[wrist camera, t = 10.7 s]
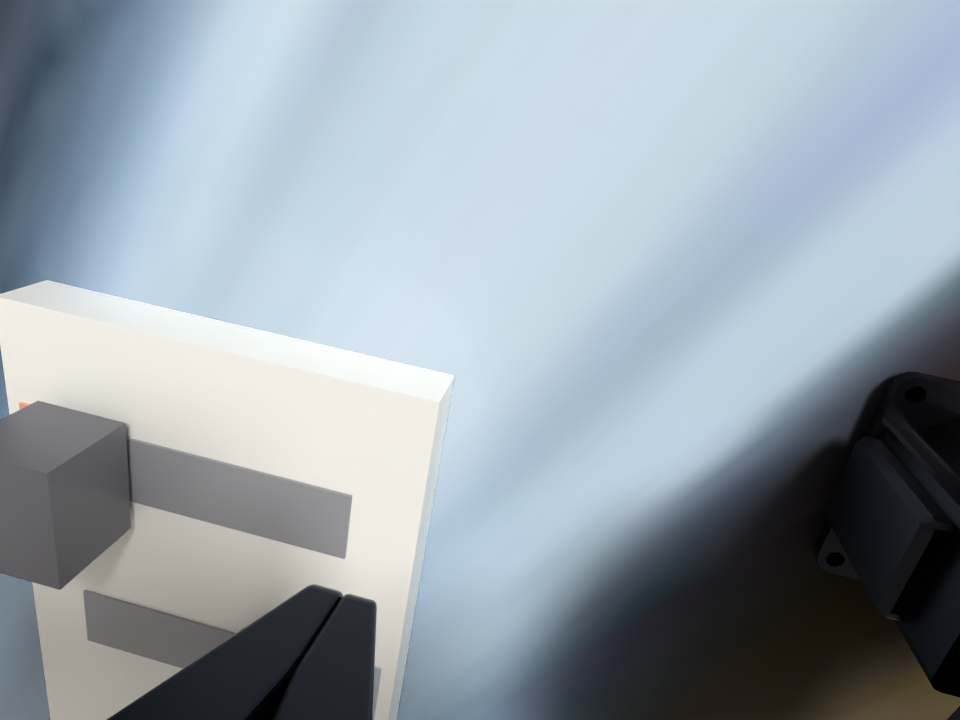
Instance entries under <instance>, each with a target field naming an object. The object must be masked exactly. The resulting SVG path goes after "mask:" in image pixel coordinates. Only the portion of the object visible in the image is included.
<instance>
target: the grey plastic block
mask: <svg viewBox="0 0 960 720" xmlns="http://www.w3.org/2000/svg"><path fill="white" fill-rule="evenodd" d="M129 529H131V515H130V496H129V477H128V459H127V440H126V423H124V422H120V421H116V420H112V419H108V418H104V417H100V416H96V415H92V414H88V413H85V412H81V411H77V410H73V409H69V408H65V407H61V406H57V405H53V404H49V403H45V402H42V401H36V402H34V403H32V404H30V405H28V406H26V407H24V408H22V409H20V410H18V411H16V412H15V413H13V414H11V415H9V416H7V417H5V418H3V419H1V420H0V573H3V574H6V575H10V576H13V577H17V578H20V579H24V580H27V581H30V582H34V583H37V584H41V585H44V586H48V587H51V588H55V589H58V590H61V589H62V588H63V587H64V586H65V585H66V584H68V583H69V582H70V581H71V580H72V579H73V578H74V577H76V576H77V575H78V574H79V573H80V572H81V571H83V570H84V569H85V568H86V567H87V566H88V565H89V564H91V563H92V562H93V561H94V560H95V559H96V558H97V557H99V556H100V555H101V554H102V553H103V552H104V551H105V550H107V549H108V548H109V547H110V546H111V545H112V544H113V543H115V542H116V541H117V540H118V539H119V538H120V537H121V536H123V535H124V534H125V533H126V532H127V531H128V530H129Z"/></svg>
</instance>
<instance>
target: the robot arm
mask: <svg viewBox="0 0 960 720" xmlns="http://www.w3.org/2000/svg"><path fill="white" fill-rule="evenodd" d="M913 386H919V391H918V393H917V394H916V395H915V396H912V397H910V398H904V397H905V392H906V391H907V390H908V389H909V388H911V387H913ZM824 514H825V516H826V518H827V520H826V522H825V524H824V526H823V529H822V531H821V533H820V535H819V537H818V539H817V542H816V544H815V546H814V550H813V554H814V557H815V559H816V561H817V563H818V565H819V567H820V568H821V569H822V570H824V571H826V572H829V573H832V574H836V575H840V576H844V577H848V578H852V579H856V580H860V581H861V582H862V584H863V585H864V587H865V589H866V591H867V593H868V595H869V596H870V598H871V600H872V602H873V604H874V605H875V607H876V609H877V610H878V612H879V614H880V615H881V616H882V617H885V618H889V619H893V620H895V622H896V624H897V625H898V627H899V629H900V631H901V632H902V634H903V636H904V638H905V639H906V641H907V643H908V645H909V646H910V648H911V650H912V652H913V653H914V655H915V657H916V659H917V660H918V662H919V664H920V666H921V667H922V669H923V671H924V672H925V674H926V676H927V678H928V679H929V681H930V683H931V685H932V686H933V688H934V689H935V690H937V691H939V692H942V693H945V694H949V695H953V696H957V697H960V381H955V380H950V379H946V378H941V377H936V376H932V375H927V374H923V373H918V372H907V373H903V374H900V375H899V376H897V377H896V378H894V379H893V381H892V382H891V383H890V385H889V387H888V389H887V391H886V393H885V395H884V397H883V400H882V402H881V404H880V406H879V408H878V410H877V413H876V415H875V417H874V419H873V421H872V423H871V425H870V428H869V430H868V432H867V434H866V436H865V437H864V438H862V439H860V440H859V441H857V442H856V443H855V445H854V448H853V450H852V452H851V454H850V456H849V458H848V461H847V463H846V465H845V467H844V469H843V471H842V474H841V476H840V478H839V480H838V482H837V484H836V487H835V489H834V491H833V493H832V495H831V498H830V500H829V502H828V504H827V506H826V508H825V511H824ZM834 552H836V553H840V554H839V555H838V556H837V557H834V558H827V556H828V555H829V554H831V553H834ZM376 617H377V604H376V602H375V601H374V600H371V599H367V598H364V597H360V596H356V595H353V594H346V595H344V596H343V594H342V593H341V592H340V591H338V590H335V589H331V588H327V587H324V586H320V585H316V584H312V585H309V586H307V587H305V588H304V589H302V590H301V591H299V592H298V593H296V594H295V595H293V596H292V597H290V598H289V599H287V600H285V601H284V602H282V603H281V604H279V605H278V606H276V607H275V608H273V609H272V610H270V611H269V612H267V613H266V614H264V615H263V616H261V617H260V618H258V619H257V620H255V621H254V622H252V623H251V624H249V625H248V626H246V627H245V628H243V629H242V630H240V631H239V632H237V633H236V634H234V635H233V636H231V637H230V638H228V639H227V640H225V641H224V642H222V643H221V644H219V645H218V646H216V647H215V648H213V649H212V650H210V651H209V652H207V653H206V654H204V655H203V656H201V657H200V658H198V659H197V660H195V661H194V662H192V663H191V664H189V665H188V666H186V667H185V668H183V669H182V670H180V671H179V672H177V673H176V674H174V675H173V676H171V677H170V678H168V679H167V680H165V681H164V682H162V683H161V684H159V685H158V686H156V687H155V688H153V689H152V690H150V691H148V692H147V693H145V694H144V695H142V696H141V697H139V698H138V699H136V700H135V701H133V702H132V703H130V704H129V705H127V706H126V707H124V708H123V709H121V710H120V711H118V712H117V713H115V714H114V715H112V716H111V717H109V718H108V719H106V720H372V716H373V692H374V667H375V642H376ZM947 720H960V706H959V707H958V708H957V710H956V711H955V712H954V713H953V714H952V715H951V716H950V717H949V718H948V719H947Z"/></svg>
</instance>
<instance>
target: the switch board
mask: <svg viewBox="0 0 960 720" xmlns="http://www.w3.org/2000/svg"><path fill="white" fill-rule="evenodd" d="M0 346H1V353H2V361H3V368H4V375H5V383H6V390H7V398H8V405H9V413H10V415H11V414H13V413H15V412H16V411H18V410H20V409H22V408H24V407H26V406H28V405H30V404H32V403H34V402H36V401H42V402H45V403H49V404H53V405H57V406H61V407H65V408H69V409H73V410H77V411H81V412H85V413H88V414H92V415H96V416H100V417H104V418H108V419H112V420H116V421H120V422H124V423H126V440H127V459H128V477H129V496H130V515H131V529H129V530H128V531H127V532H126V533H125V534H124V535H123V536H121V537H120V538H119V539H118V540H117V541H116V542H115V543H113V544H112V545H111V546H110V547H109V548H108V549H107V550H105V551H104V552H103V553H102V554H101V555H100V556H99V557H97V558H96V559H95V560H94V561H93V562H92V563H91V564H89V565H88V566H87V567H86V568H85V569H84V570H83V571H81V572H80V573H79V574H78V575H77V576H76V577H74V578H73V579H72V580H71V581H70V582H69V583H68V584H66V585H65V586H64V587H63V588H62V589H61V590H58V589H55V588H51V587H48V586H44V585H41V584H37V583H34V582H32V585H33V593H34V600H35V608H36V615H37V623H38V630H39V638H40V645H41V653H42V660H43V668H44V675H45V683H46V690H47V698H48V705H49V713H50V720H106V719H108V718H109V717H111V716H112V715H114V714H115V713H117V712H118V711H120V710H121V709H123V708H124V707H126V706H127V705H129V704H130V703H132V702H133V701H135V700H136V699H138V698H139V697H141V696H142V695H144V694H145V693H147V692H148V691H150V690H152V689H153V688H155V687H156V686H158V685H159V684H161V683H162V682H164V681H165V680H167V679H168V678H170V677H171V676H173V675H174V674H176V673H177V672H179V671H180V670H182V669H183V668H185V667H186V666H188V665H189V664H191V663H192V662H194V661H195V660H197V659H198V658H200V657H201V656H203V655H204V654H206V653H207V652H209V651H210V650H212V649H213V648H215V647H216V646H218V645H219V644H221V643H222V642H224V641H225V640H227V639H228V638H230V637H231V636H233V635H234V634H236V633H237V632H239V631H240V630H241V629H242V628H245V627H246V626H248V625H249V624H251V623H252V622H254V621H255V620H257V619H258V618H260V617H261V616H263V615H264V614H266V613H267V612H269V611H270V610H272V609H273V608H275V607H276V606H278V605H279V604H281V603H282V602H284V601H285V600H287V599H289V598H290V597H292V596H293V595H295V594H296V593H298V592H299V591H301V590H302V589H304V588H305V587H307V586H309V585H312V584H316V585H320V586H324V587H327V588H331V589H335V590H338V591H340V592H341V593H342V594H343V596H344V595H346V594H353V595H356V596H360V597H364V598H367V599H371V600H374V601H375V602H376V604H377V617H376V642H375V667H374V692H373V716H372V720H397V714H398V708H399V702H400V696H401V690H402V685H403V679H404V673H405V667H406V661H407V655H408V649H409V643H410V637H411V632H412V626H413V620H414V614H415V608H416V602H417V596H418V590H419V584H420V579H421V573H422V567H423V561H424V555H425V549H426V543H427V537H428V531H429V525H430V520H431V514H432V508H433V502H434V496H435V490H436V484H437V478H438V472H439V467H440V461H441V455H442V449H443V443H444V437H445V431H446V425H447V419H448V414H449V408H450V402H451V396H452V390H453V384H454V378H455V375H451V374H447V373H443V372H438V371H434V370H430V369H426V368H421V367H417V366H413V365H408V364H404V363H400V362H396V361H391V360H387V359H383V358H378V357H374V356H370V355H366V354H361V353H357V352H353V351H348V350H344V349H340V348H336V347H331V346H327V345H323V344H319V343H314V342H310V341H306V340H301V339H297V338H293V337H289V336H284V335H280V334H276V333H271V332H267V331H263V330H259V329H254V328H250V327H246V326H241V325H237V324H233V323H229V322H224V321H220V320H216V319H211V318H207V317H203V316H199V315H194V314H190V313H186V312H182V311H177V310H173V309H169V308H164V307H160V306H156V305H152V304H147V303H143V302H139V301H134V300H130V299H126V298H122V297H117V296H113V295H109V294H104V293H100V292H96V291H92V290H87V289H83V288H79V287H74V286H70V285H66V284H62V283H57V282H53V281H49V280H46V281H42V282H39V283H36V284H32V285H29V286H26V287H22V288H19V289H16V290H12V291H9V292H6V293H2V294H0Z"/></svg>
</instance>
